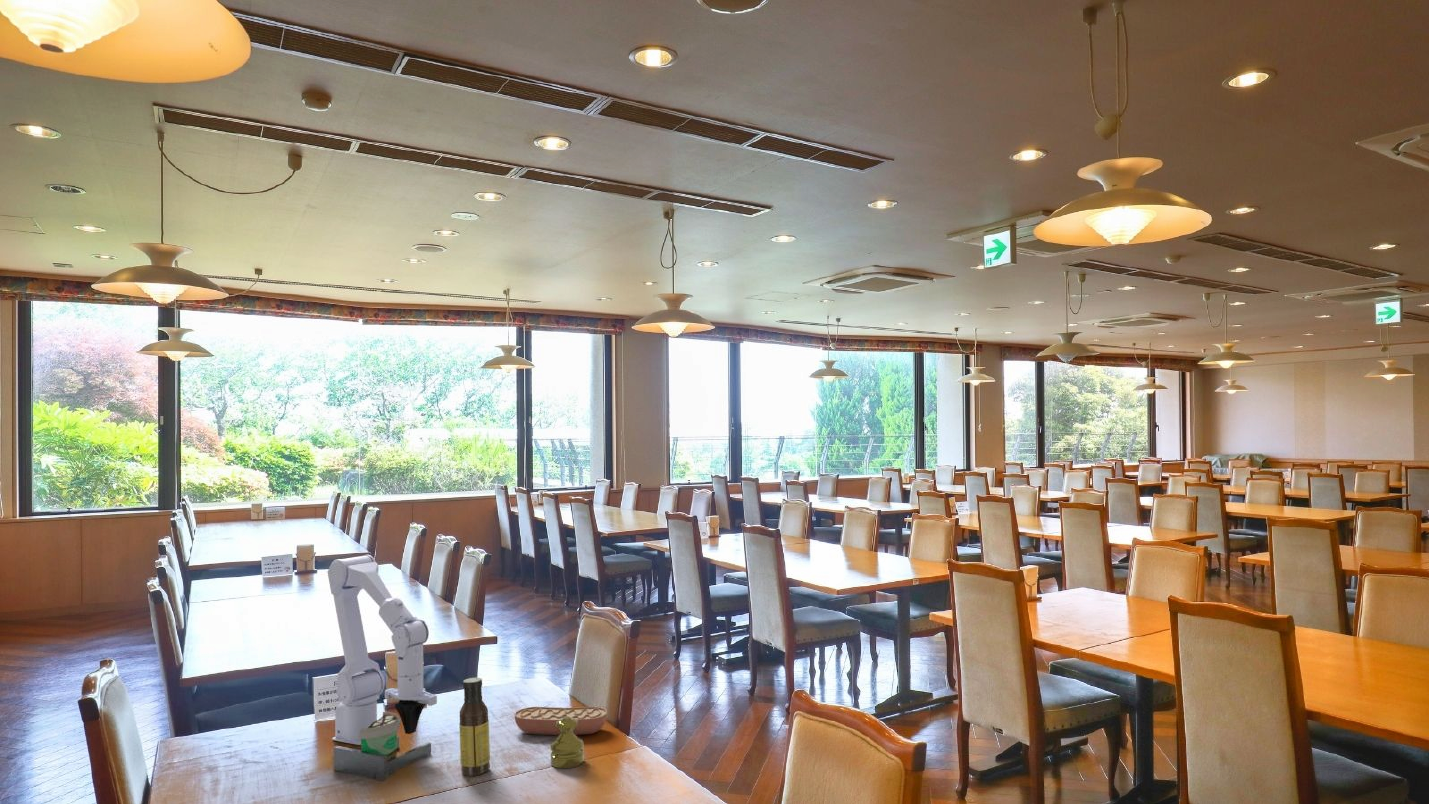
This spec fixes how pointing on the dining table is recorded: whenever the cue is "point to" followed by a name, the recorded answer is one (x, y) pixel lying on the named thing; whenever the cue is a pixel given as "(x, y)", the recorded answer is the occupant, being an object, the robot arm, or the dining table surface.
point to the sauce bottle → (474, 730)
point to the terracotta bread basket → (546, 718)
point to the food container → (381, 736)
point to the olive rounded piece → (567, 745)
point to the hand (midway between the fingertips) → (410, 732)
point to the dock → (375, 761)
